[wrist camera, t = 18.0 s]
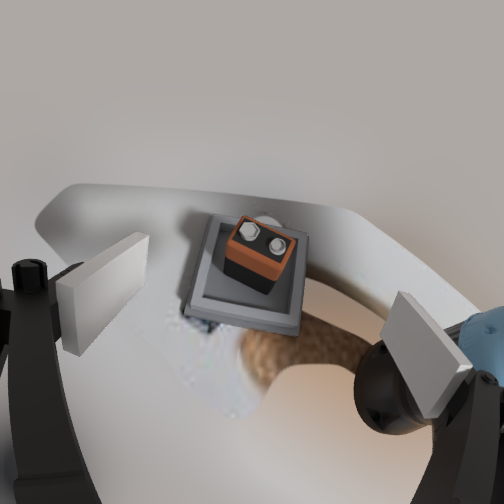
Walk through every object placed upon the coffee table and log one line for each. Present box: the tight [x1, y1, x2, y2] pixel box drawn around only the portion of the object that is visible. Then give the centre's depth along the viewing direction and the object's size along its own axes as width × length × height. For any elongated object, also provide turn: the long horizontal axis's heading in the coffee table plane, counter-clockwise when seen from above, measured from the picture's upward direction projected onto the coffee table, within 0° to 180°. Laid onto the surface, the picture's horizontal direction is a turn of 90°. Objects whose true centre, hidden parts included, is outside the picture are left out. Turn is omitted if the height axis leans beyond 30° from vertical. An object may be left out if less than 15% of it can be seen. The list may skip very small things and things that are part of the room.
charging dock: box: [184, 214, 309, 337], centre depth 40 cm, size 15×15×3 cm
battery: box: [223, 216, 296, 295], centre depth 36 cm, size 4×7×10 cm, turn 64°
